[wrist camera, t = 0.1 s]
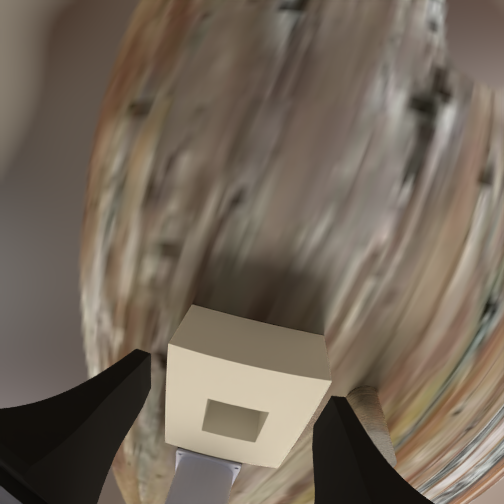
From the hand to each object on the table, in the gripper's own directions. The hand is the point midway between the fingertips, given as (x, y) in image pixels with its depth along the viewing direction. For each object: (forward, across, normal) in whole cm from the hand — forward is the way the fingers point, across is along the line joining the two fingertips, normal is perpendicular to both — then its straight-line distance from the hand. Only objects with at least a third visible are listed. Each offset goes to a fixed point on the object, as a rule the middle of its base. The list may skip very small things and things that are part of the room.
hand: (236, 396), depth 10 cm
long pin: (+10, -12, +9) cm, 18 cm away
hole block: (+10, -1, +9) cm, 13 cm away
